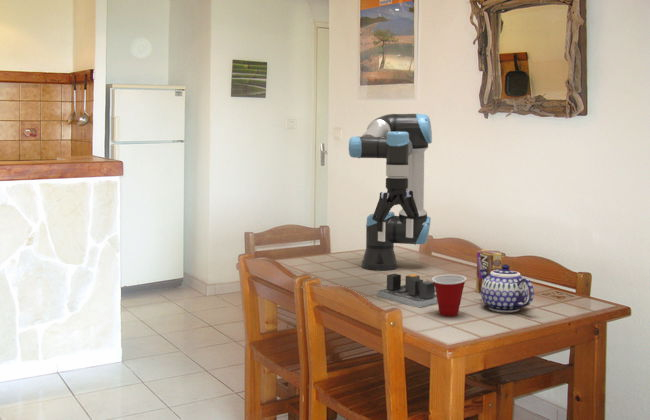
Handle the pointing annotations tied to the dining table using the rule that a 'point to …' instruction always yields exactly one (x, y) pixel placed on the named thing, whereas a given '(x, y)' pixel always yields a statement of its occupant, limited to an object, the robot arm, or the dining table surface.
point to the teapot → (505, 290)
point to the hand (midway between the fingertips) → (395, 239)
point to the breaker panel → (406, 299)
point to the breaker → (410, 279)
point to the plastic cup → (449, 293)
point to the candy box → (486, 264)
